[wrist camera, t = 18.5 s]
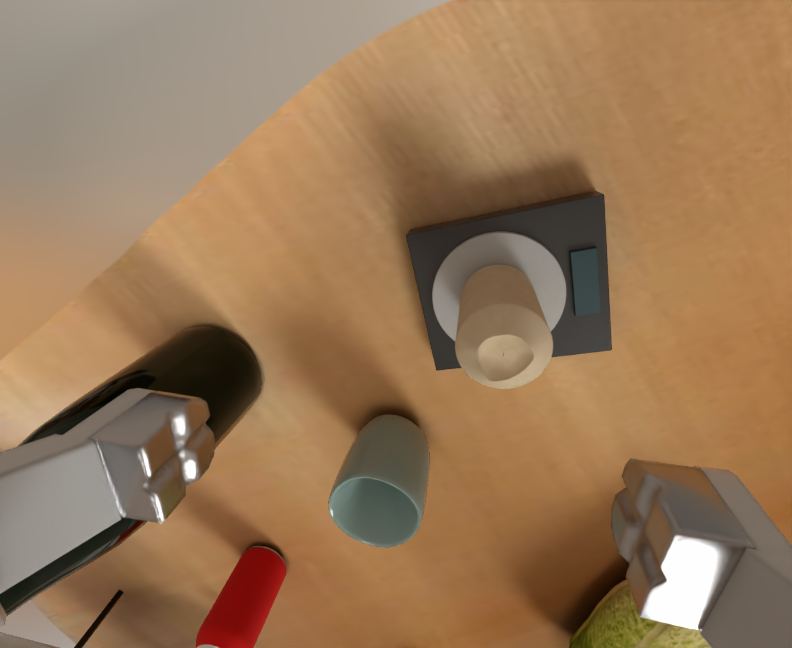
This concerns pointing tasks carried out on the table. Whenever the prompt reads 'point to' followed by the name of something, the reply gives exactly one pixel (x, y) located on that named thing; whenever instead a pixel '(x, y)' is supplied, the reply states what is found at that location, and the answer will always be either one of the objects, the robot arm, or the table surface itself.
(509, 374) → the candle
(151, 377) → the dark wine bottle
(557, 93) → the table surface
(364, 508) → the cup
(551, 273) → the scale
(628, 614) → the lettuce
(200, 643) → the beverage can
